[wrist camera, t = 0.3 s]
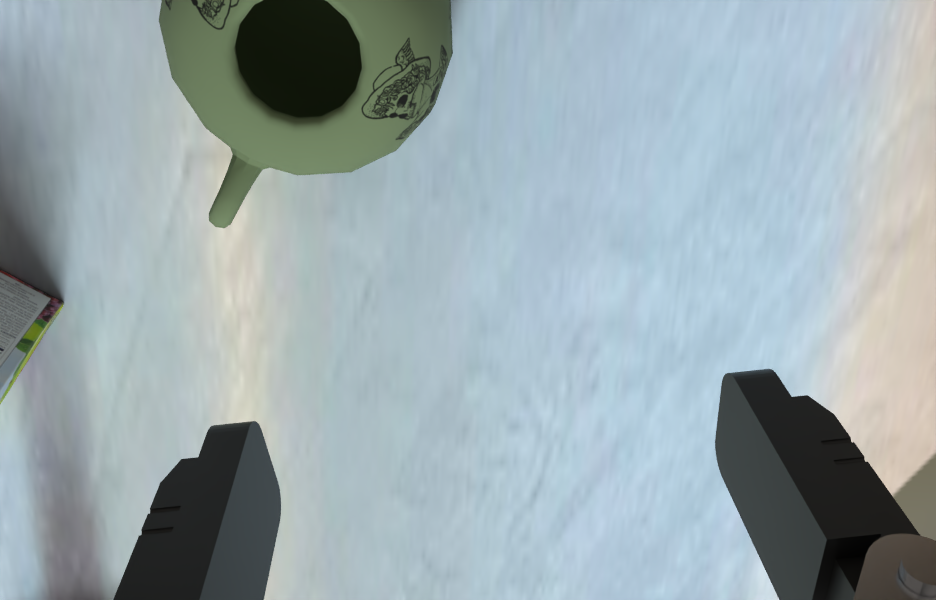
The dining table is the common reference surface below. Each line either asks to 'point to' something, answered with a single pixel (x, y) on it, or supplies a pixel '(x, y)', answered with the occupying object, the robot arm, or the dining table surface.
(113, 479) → the dining table surface
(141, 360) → the dining table surface
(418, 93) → the mug
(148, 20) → the dining table surface
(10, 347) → the snack box
